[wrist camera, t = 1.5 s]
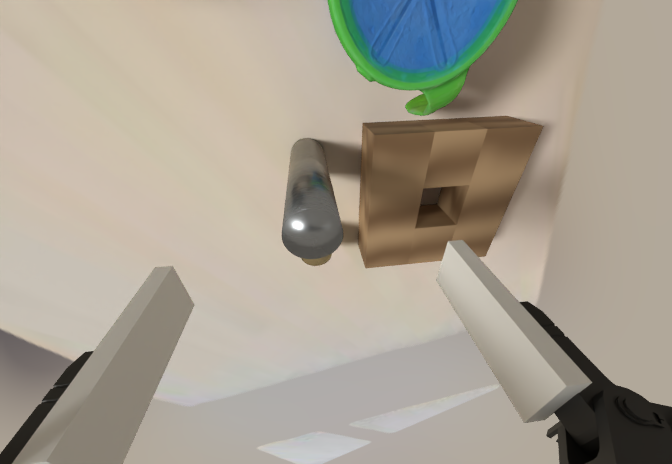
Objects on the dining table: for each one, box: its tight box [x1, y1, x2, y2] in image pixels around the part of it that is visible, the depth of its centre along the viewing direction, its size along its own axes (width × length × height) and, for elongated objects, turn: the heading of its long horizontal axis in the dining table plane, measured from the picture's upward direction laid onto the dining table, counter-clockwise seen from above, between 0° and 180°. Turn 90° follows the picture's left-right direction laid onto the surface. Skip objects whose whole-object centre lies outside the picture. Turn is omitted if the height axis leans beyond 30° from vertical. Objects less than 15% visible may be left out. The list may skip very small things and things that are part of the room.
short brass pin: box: [302, 253, 332, 266], centre depth 30 cm, size 4×4×5 cm
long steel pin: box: [282, 138, 343, 259], centre depth 20 cm, size 4×4×15 cm
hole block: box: [358, 116, 543, 268], centre depth 28 cm, size 16×16×5 cm
